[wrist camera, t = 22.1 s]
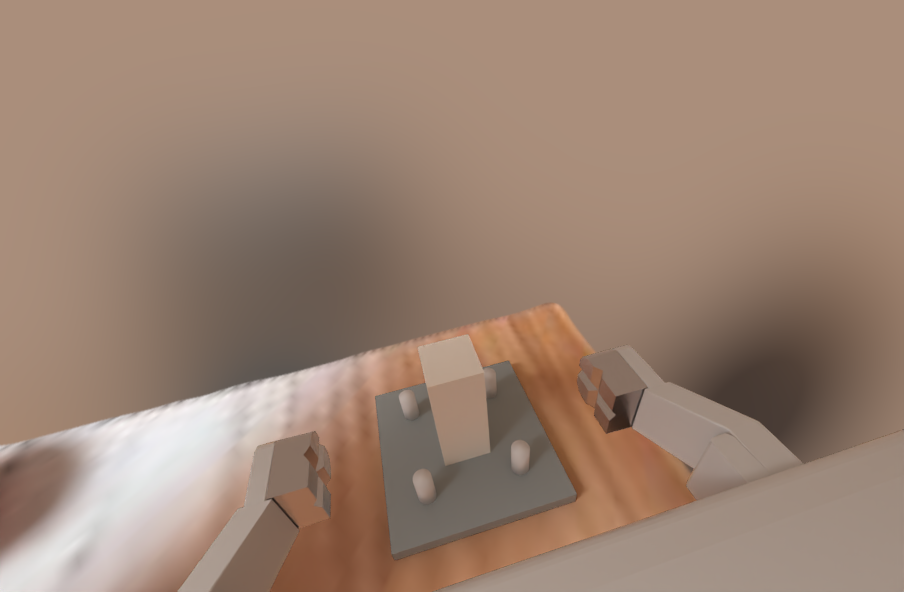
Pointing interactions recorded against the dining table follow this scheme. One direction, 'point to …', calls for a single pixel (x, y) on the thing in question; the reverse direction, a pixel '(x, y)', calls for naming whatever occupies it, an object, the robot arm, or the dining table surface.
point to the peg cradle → (465, 468)
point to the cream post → (457, 397)
